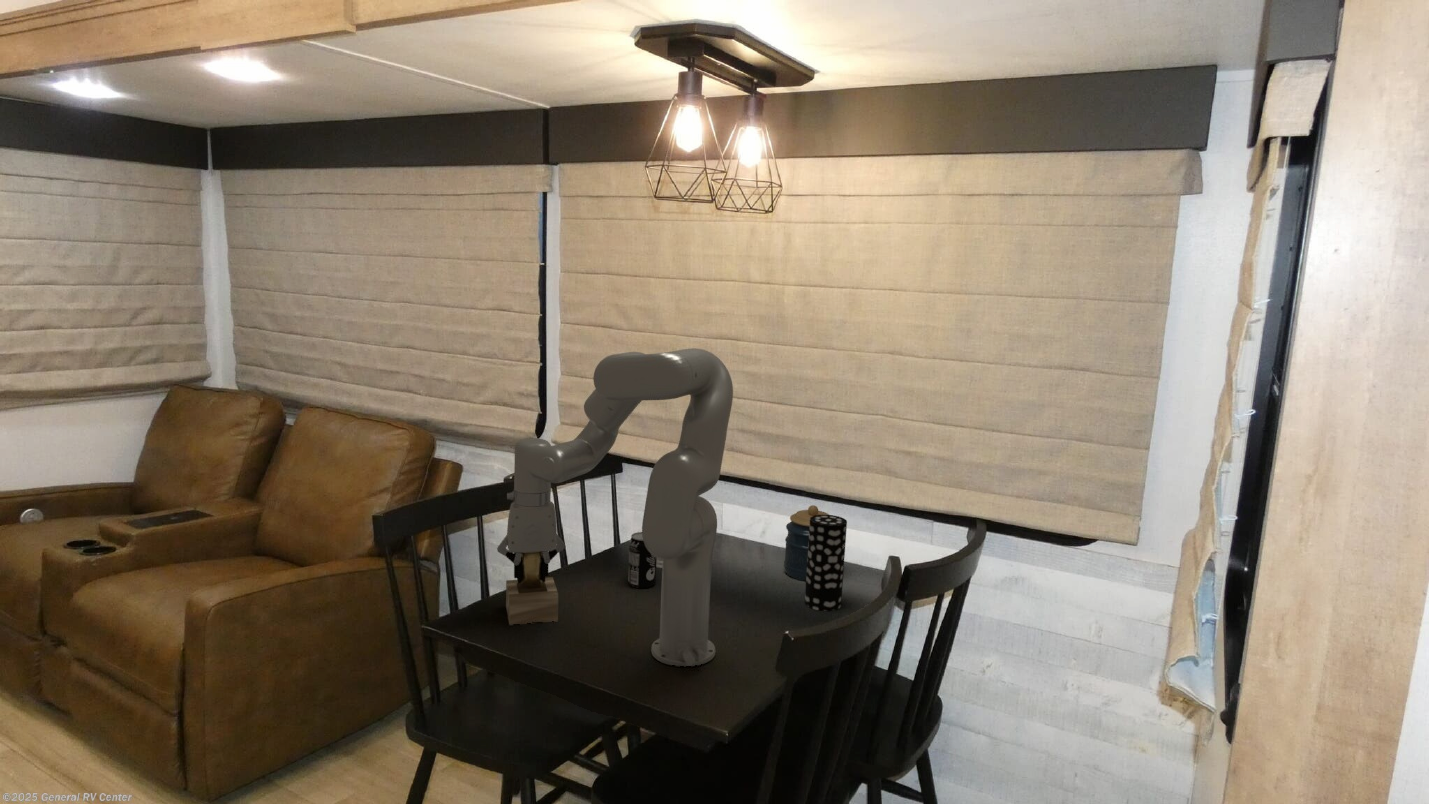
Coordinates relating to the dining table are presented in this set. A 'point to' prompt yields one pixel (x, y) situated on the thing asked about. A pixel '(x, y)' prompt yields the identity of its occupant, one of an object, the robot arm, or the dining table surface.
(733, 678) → the dining table surface
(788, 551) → the canister
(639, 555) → the beverage can
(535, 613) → the frame
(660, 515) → the robot arm
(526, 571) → the banded brass cylinder
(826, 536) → the white-spotted black cylinder
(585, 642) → the dining table surface
